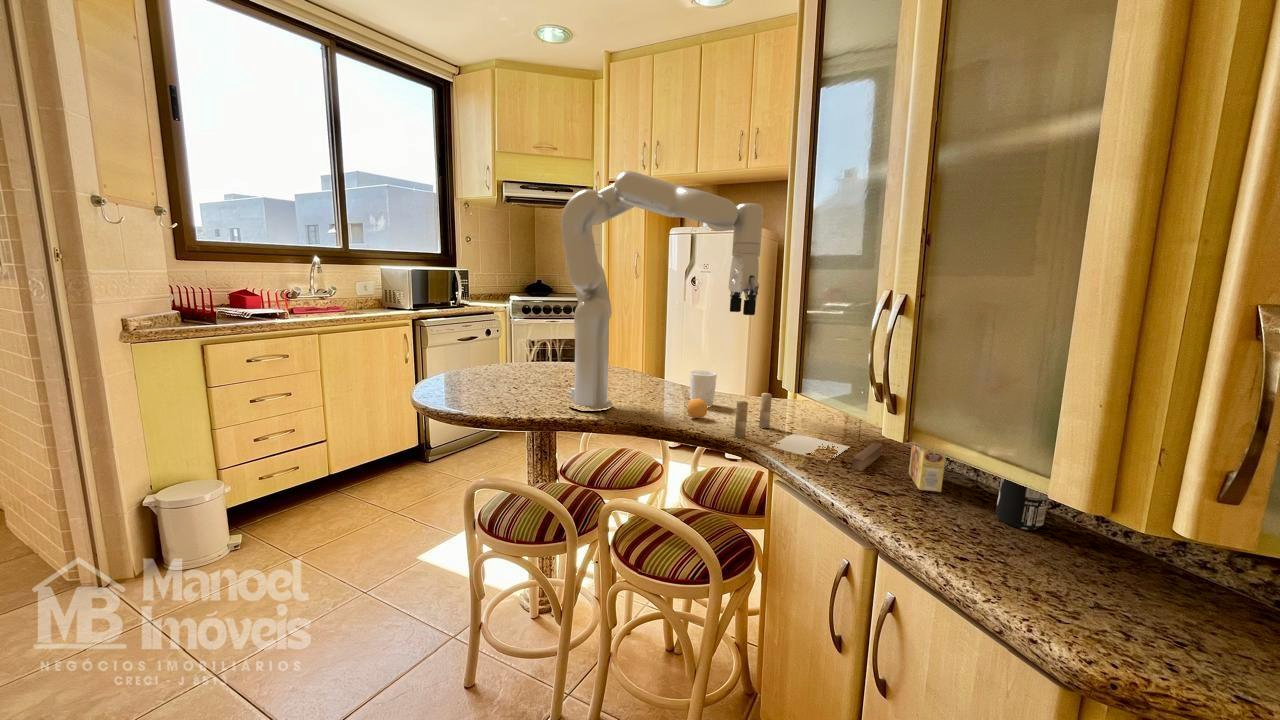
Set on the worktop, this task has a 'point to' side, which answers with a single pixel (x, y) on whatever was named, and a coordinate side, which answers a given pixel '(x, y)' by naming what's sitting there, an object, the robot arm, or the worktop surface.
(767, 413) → the post
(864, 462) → the stopper wall
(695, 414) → the ball
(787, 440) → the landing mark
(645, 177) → the robot arm
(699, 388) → the white cup
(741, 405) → the post
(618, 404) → the worktop surface
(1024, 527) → the beverage can
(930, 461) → the candy box
